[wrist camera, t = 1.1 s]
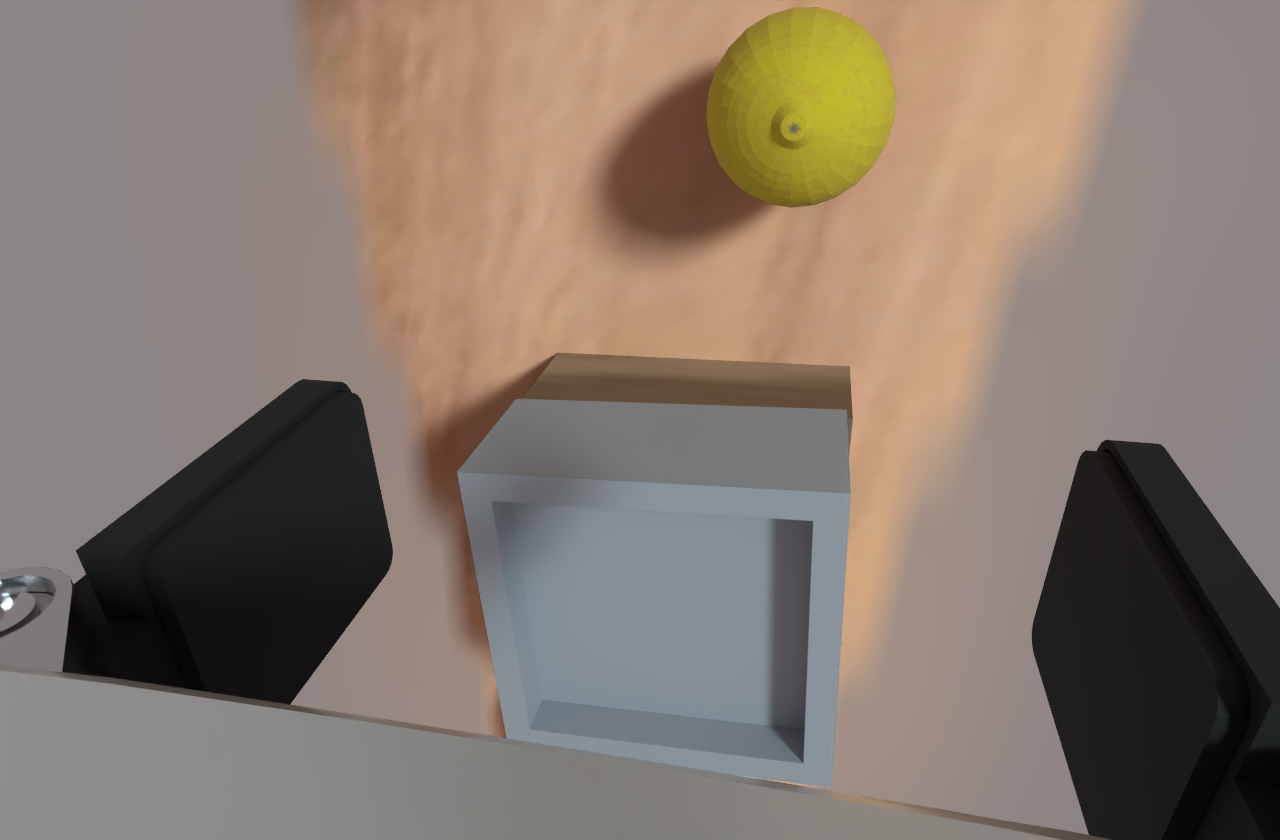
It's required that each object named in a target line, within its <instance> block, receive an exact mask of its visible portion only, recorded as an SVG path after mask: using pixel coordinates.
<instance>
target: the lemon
mask: <svg viewBox="0 0 1280 840" xmlns="http://www.w3.org/2000/svg"><path fill="white" fill-rule="evenodd" d="M894 111H895V88H894V83H893V78H892V73H891V68H890V65H889V63H888V61H887V59H886V57H885V55H884V53H883V51H882V49H881V47H880V45H879V44H878V43H877V42H876V41H875V39H874V38H873V37H872V36H871V35H870V34H869V33H868V32H867V31H866V30H865V29H864V27H863V26H861V25H859V24H858V23H856V22H854V21H853V20H851V19H849V18H848V17H846V16H845V15H843V14H841V13H837V12H833V11H830V10H826V9H822V8H818V7H813V8H791V9H788V10H785V11H782V12H778V13H775V14H772V15H769V16H767V17H766V18H764V19H762V20H761V21H759V22H757V23H756V24H754V25H752V26H751V27H749V28H747V29H746V30H745V31H744V32H743V34H742V35H741V36H740V37H739V38H738V39H737V40H736V41H735V42H734V43H733V44H732V45H731V46H730V47H729V48H728V50H727V51H726V53H725V55H724V56H723V58H722V60H721V61H720V63H719V65H718V66H717V68H716V70H715V73H714V76H713V79H712V82H711V86H710V89H709V92H708V99H707V112H706V122H707V128H708V134H709V140H710V144H711V146H712V149H713V151H714V153H715V156H716V158H717V161H718V163H719V165H720V166H721V167H722V169H723V170H724V171H725V173H726V174H727V175H728V177H729V178H730V179H731V180H732V182H733V183H735V184H736V185H737V186H738V187H740V188H741V189H742V190H744V191H745V192H746V193H747V194H749V195H750V196H752V197H755V198H757V199H759V200H762V201H764V202H766V203H769V204H773V205H779V206H786V207H800V206H810V205H816V204H818V203H821V202H824V201H827V200H830V199H832V198H835V197H837V196H839V195H840V194H842V193H843V192H845V191H846V190H848V189H849V188H851V187H852V186H854V185H855V184H857V183H858V182H859V181H860V180H861V178H862V177H863V176H864V175H865V174H866V173H867V172H868V171H869V170H870V169H871V168H872V167H873V166H874V164H875V162H876V160H877V159H878V157H879V155H880V154H881V152H882V150H883V148H884V147H885V145H886V143H887V140H888V137H889V134H890V130H891V127H892V124H893V120H894Z"/></svg>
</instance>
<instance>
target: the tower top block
mask: <svg viewBox="0 0 1280 840" xmlns="http://www.w3.org/2000/svg"><path fill="white" fill-rule="evenodd" d="M457 476H458V481H459V486H460V492H461V497H462V502H463V508H464V513H465V518H466V524H467V529H468V535H469V540H470V545H471V551H472V556H473V561H474V567H475V572H476V577H477V583H478V588H479V593H480V599H481V604H482V609H483V615H484V620H485V626H486V631H487V636H488V642H489V647H490V652H491V658H492V663H493V668H494V674H495V679H496V684H497V690H498V695H499V701H500V706H501V711H502V717H503V722H504V727H505V733H506V738H508V739H514V740H520V741H527V742H533V743H539V744H546V745H552V746H558V747H564V748H571V749H577V750H583V751H589V752H596V753H602V754H608V755H614V756H620V757H627V758H633V759H639V760H645V761H652V762H658V763H664V764H670V765H677V766H683V767H689V768H695V769H701V770H707V771H713V772H719V773H725V774H731V775H739V776H747V777H754V778H762V779H770V780H778V781H785V782H793V783H801V784H808V785H816V786H824V787H832V777H833V762H834V746H835V745H834V744H835V731H836V715H837V699H838V683H839V667H840V651H841V636H842V620H843V604H844V588H845V572H846V556H847V541H848V525H849V509H850V472H849V450H848V427H847V410H844V409H814V408H784V407H753V406H723V405H693V404H662V403H632V402H602V401H572V400H541V399H515V401H514V402H513V403H512V404H511V406H510V407H509V408H508V409H507V411H506V412H505V413H504V414H503V416H502V417H501V418H500V419H499V421H498V422H497V423H496V424H495V426H494V427H493V428H492V429H491V430H490V432H489V433H488V434H487V435H486V437H485V438H484V439H483V440H482V442H481V443H480V444H479V445H478V447H477V448H476V449H475V450H474V452H473V453H472V454H471V455H470V457H469V458H468V459H467V460H466V462H465V463H464V464H463V465H462V466H461V468H460V469H459V470H458V471H457Z"/></svg>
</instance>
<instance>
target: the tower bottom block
mask: <svg viewBox="0 0 1280 840" xmlns="http://www.w3.org/2000/svg"><path fill="white" fill-rule="evenodd" d="M522 399H541V400H572V401H602V402H632V403H662V404H693V405H723V406H753V407H784V408H814V409H844V410H847V427H848V450H849V452H850V441H851V430H852V420H853V416H852V399H851V382H850V367H847V366H826V365H805V364H783V363H762V362H741V361H720V360H698V359H677V358H656V357H635V356H613V355H592V354H571V353H557V354H556V356H555V357H554V358H553V360H552V361H551V362H550V363H549V365H548V366H547V367H546V368H545V370H544V371H543V372H542V374H541V375H540V376H539V377H538V379H537V380H536V381H535V382H534V384H533V385H532V386H531V388H530V389H529V390H528V391H527V393H526V394H525V395H524V396H523V398H522Z"/></svg>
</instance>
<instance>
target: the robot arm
mask: <svg viewBox="0 0 1280 840" xmlns="http://www.w3.org/2000/svg"><path fill="white" fill-rule="evenodd" d="M76 552H77V554H78V557H79V559H80V561H81V563H82V566H83V568H84V570H85V572H86V575H85V576H84V577H82V578H81V579H80V580H79V581H78V582H76V583H75V584H74V585H73V583H72V581H71V578H70V577H69V576H68V575H66V574H65V573H64V572H62V571H61V570H58V569H53V568H48V567H30V568H21V569H16V570H11V571H5V572H1V573H0V840H1280V608H1279V607H1278V605H1277V604H1276V602H1275V601H1274V600H1273V598H1272V597H1271V595H1270V594H1269V593H1268V591H1267V590H1266V588H1265V587H1264V586H1263V584H1262V583H1261V581H1260V580H1259V579H1258V577H1257V576H1256V575H1255V573H1254V572H1253V571H1252V569H1251V568H1250V566H1249V565H1248V564H1247V562H1246V561H1245V559H1244V558H1243V557H1242V555H1241V554H1240V552H1239V551H1238V550H1237V548H1236V547H1235V545H1234V544H1233V543H1232V541H1231V540H1230V539H1229V537H1228V536H1227V534H1226V533H1225V532H1224V530H1223V529H1222V527H1221V526H1220V524H1219V523H1218V522H1217V520H1216V519H1215V518H1214V516H1213V515H1212V513H1211V512H1210V511H1209V509H1208V508H1207V506H1206V505H1205V504H1204V502H1203V501H1202V499H1201V498H1200V497H1199V495H1198V494H1197V492H1196V491H1195V490H1194V488H1193V487H1192V486H1191V484H1190V483H1189V481H1188V480H1187V479H1186V477H1185V476H1184V474H1183V473H1182V471H1181V470H1180V469H1179V467H1178V466H1177V464H1176V463H1175V462H1174V460H1173V459H1172V458H1171V456H1170V455H1169V453H1168V452H1167V451H1166V449H1165V448H1164V447H1163V446H1162V445H1161V444H1153V443H1140V442H1127V441H1113V440H1105V441H1104V442H1102V443H1101V445H1100V446H1099V447H1098V449H1097V451H1085V452H1083V453H1082V455H1081V456H1080V459H1079V461H1078V464H1077V468H1076V471H1075V475H1074V479H1073V482H1072V486H1071V490H1070V493H1069V496H1068V500H1067V504H1066V507H1065V511H1064V514H1063V518H1062V521H1061V525H1060V529H1059V532H1058V536H1057V539H1056V543H1055V546H1054V550H1053V554H1052V557H1051V561H1050V564H1049V568H1048V572H1047V575H1046V579H1045V582H1044V586H1043V589H1042V593H1041V596H1040V600H1039V604H1038V607H1037V611H1036V614H1035V618H1034V622H1033V627H1032V646H1033V652H1034V656H1035V659H1036V662H1037V666H1038V669H1039V672H1040V676H1041V679H1042V682H1043V685H1044V689H1045V692H1046V695H1047V698H1048V702H1049V705H1050V708H1051V711H1052V715H1053V718H1054V722H1055V725H1056V728H1057V731H1058V735H1059V738H1060V741H1061V744H1062V748H1063V751H1064V754H1065V758H1066V761H1067V764H1068V767H1069V771H1070V774H1071V777H1072V781H1073V784H1074V787H1075V790H1076V793H1077V797H1078V800H1079V804H1080V807H1081V810H1082V813H1083V817H1084V820H1085V823H1086V827H1087V830H1088V833H1089V835H1085V834H1080V833H1075V832H1070V831H1065V830H1059V829H1053V828H1047V827H1041V826H1035V825H1029V824H1023V823H1017V822H1010V821H1004V820H998V819H993V818H987V817H981V816H976V815H971V814H965V813H959V812H954V811H948V810H943V809H937V808H930V807H925V806H919V805H913V804H907V803H901V802H894V801H888V800H883V799H877V798H870V797H864V796H858V795H852V794H846V793H840V792H834V791H828V790H822V789H816V788H810V787H804V786H798V785H792V784H786V783H780V782H774V781H768V780H762V779H755V778H749V777H743V776H737V775H731V774H725V773H719V772H713V771H707V770H701V769H695V768H689V767H683V766H677V765H670V764H664V763H658V762H652V761H645V760H639V759H633V758H627V757H620V756H614V755H608V754H602V753H596V752H589V751H583V750H577V749H571V748H564V747H558V746H552V745H546V744H539V743H533V742H527V741H520V740H514V739H508V738H502V737H495V736H489V735H483V734H476V733H470V732H464V731H457V730H451V729H445V728H438V727H431V726H426V725H419V724H412V723H407V722H400V721H393V720H387V719H380V718H374V717H368V716H361V715H355V714H348V713H342V712H335V711H328V710H322V709H315V708H309V707H302V706H296V705H290V704H291V702H292V701H293V700H294V698H295V697H296V696H297V694H298V693H299V692H300V690H301V689H302V688H303V686H304V685H305V683H306V682H307V681H308V679H309V678H310V677H311V675H312V674H313V673H314V671H315V670H316V669H317V667H318V666H319V665H320V663H321V662H322V660H323V659H324V658H325V656H326V655H327V654H328V652H329V651H330V650H331V648H332V647H333V646H334V644H335V643H336V642H337V640H338V639H339V638H340V636H341V635H342V633H343V632H344V631H345V629H346V628H347V627H348V625H349V624H350V623H351V621H352V620H353V618H354V617H355V616H356V615H357V613H358V612H359V610H360V609H361V608H362V606H363V605H364V604H365V602H366V601H367V599H368V598H369V597H370V596H371V594H372V593H373V592H374V590H375V589H376V588H377V586H378V585H379V583H380V582H381V581H382V579H383V578H384V577H385V575H386V574H387V572H388V570H389V568H390V565H391V562H392V556H393V550H392V543H391V538H390V533H389V528H388V524H387V519H386V514H385V509H384V505H383V500H382V495H381V490H380V485H379V481H378V476H377V472H376V467H375V462H374V457H373V452H372V447H371V443H370V438H369V433H368V428H367V423H366V419H365V414H364V409H363V405H362V402H361V399H360V398H359V396H358V395H357V394H355V393H352V392H351V390H350V389H349V387H348V386H347V385H346V384H345V383H343V382H333V381H320V380H306V379H302V380H300V381H298V382H297V383H295V384H294V385H293V386H291V387H290V388H289V389H287V390H286V391H285V392H283V393H282V394H281V395H279V396H278V397H277V398H276V399H274V400H273V401H272V402H270V403H269V404H268V405H266V406H265V407H264V408H262V409H261V410H260V411H258V412H257V413H256V414H255V415H253V416H252V417H251V418H249V419H248V420H247V421H245V422H244V423H243V424H241V425H240V426H239V427H238V428H236V429H235V430H234V431H232V432H231V433H230V434H229V435H227V436H226V437H224V438H223V439H222V440H221V441H219V442H218V443H217V444H215V445H214V446H213V447H211V448H210V449H209V450H208V451H206V452H205V453H204V454H202V455H201V456H200V457H198V458H197V459H196V460H194V461H193V462H192V463H190V464H189V465H188V466H186V467H185V468H184V469H182V470H181V471H180V472H178V473H177V474H176V475H175V476H173V477H172V478H171V479H169V480H168V481H167V482H165V483H164V484H163V485H162V486H160V487H159V488H157V489H156V490H155V491H154V492H152V493H151V494H150V495H148V496H147V497H146V498H145V499H143V500H142V501H140V502H139V503H138V504H136V505H135V506H134V507H133V508H131V509H130V510H129V511H127V512H126V513H125V514H123V515H122V516H121V517H119V518H118V519H117V520H115V521H114V522H113V523H112V524H110V525H109V526H108V527H107V528H105V529H104V530H102V531H101V532H100V533H98V534H97V535H96V536H95V537H93V538H92V539H91V540H89V541H88V542H87V543H85V544H84V545H83V546H81V547H80V548H79V549H77V550H76Z"/></svg>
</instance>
